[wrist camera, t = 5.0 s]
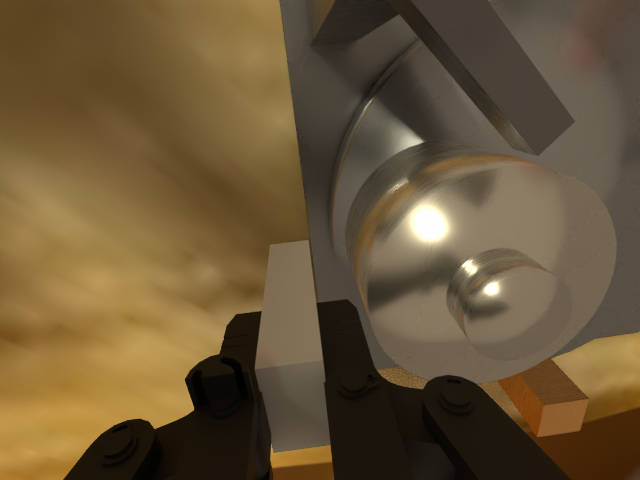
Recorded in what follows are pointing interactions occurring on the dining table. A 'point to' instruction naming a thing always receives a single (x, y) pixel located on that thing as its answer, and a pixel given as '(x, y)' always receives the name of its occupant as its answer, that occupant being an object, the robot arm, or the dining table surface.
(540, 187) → the cover
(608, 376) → the dining table surface
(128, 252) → the dining table surface
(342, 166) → the turntable
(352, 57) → the base plate
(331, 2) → the stand
